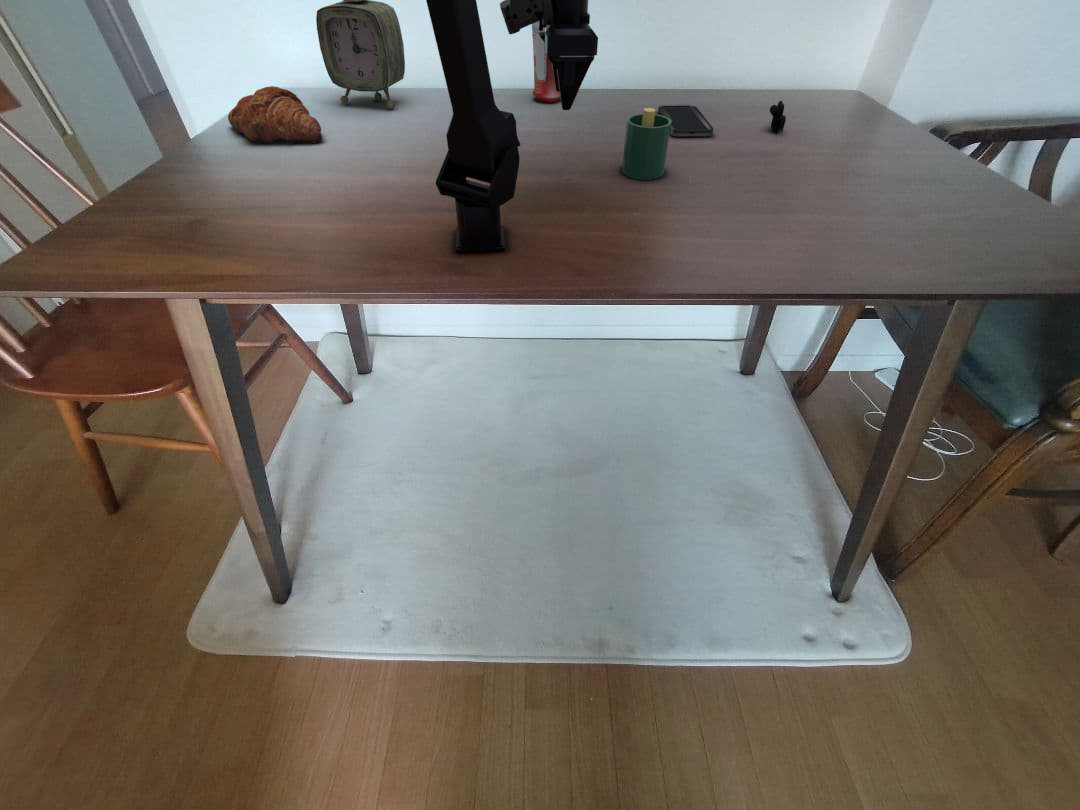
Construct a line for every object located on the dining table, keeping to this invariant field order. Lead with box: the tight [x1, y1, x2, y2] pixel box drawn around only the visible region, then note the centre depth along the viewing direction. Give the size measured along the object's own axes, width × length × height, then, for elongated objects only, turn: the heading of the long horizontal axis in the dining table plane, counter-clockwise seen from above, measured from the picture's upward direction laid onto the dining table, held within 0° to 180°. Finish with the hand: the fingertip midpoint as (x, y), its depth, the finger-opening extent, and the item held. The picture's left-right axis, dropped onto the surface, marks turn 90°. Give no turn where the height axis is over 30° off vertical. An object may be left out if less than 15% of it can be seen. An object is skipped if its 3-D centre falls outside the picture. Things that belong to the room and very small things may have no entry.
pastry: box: [227, 85, 323, 144], centre depth 105 cm, size 17×15×8 cm
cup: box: [621, 113, 671, 181], centre depth 93 cm, size 7×7×8 cm
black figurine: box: [769, 100, 787, 133], centre depth 109 cm, size 7×2×5 cm, turn 175°
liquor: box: [531, 22, 561, 104], centre depth 115 cm, size 7×7×28 cm
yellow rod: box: [642, 107, 656, 127], centre depth 92 cm, size 2×2×9 cm
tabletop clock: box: [315, 0, 406, 110], centre depth 114 cm, size 14×9×25 cm, turn 73°
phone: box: [657, 104, 714, 138], centre depth 112 cm, size 8×1×15 cm
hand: (562, 100), depth 82 cm, fingers open, 9 cm apart
